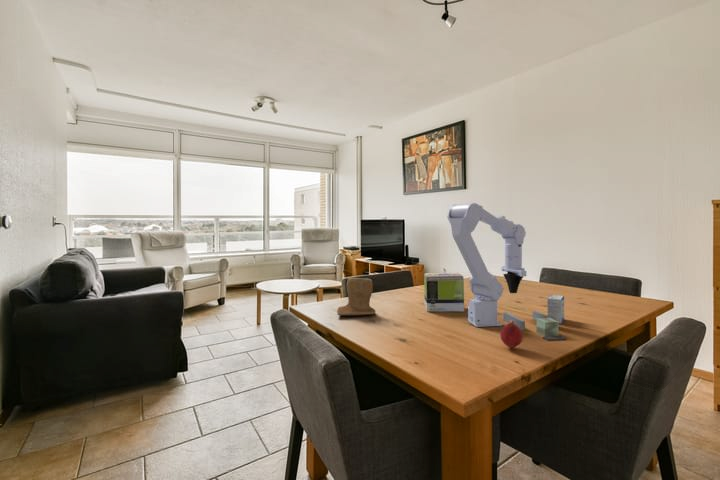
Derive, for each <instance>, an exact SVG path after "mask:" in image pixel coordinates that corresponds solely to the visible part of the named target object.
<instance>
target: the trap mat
mask: <svg viewBox="0 0 720 480" xmlns="http://www.w3.org/2000/svg"><path fill="white" fill-rule="evenodd" d="M542 339H544V340H545V341H547V342H548V341H549V342H551V341H567V338H566V337H565V336H562V335H559V336H543V337H542Z"/></svg>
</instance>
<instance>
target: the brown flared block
mask: <svg viewBox="0 0 720 480" xmlns="http://www.w3.org/2000/svg"><path fill="white" fill-rule="evenodd" d="M373 285H374V283H373V280H372V279H371V278H362V277H348V278H347V281H346V293H347V299H348V303H347V304H346V305H342V306H339V307H338V308H337V312H336V313H337V316H343V317H346V316H347V317H351V316H355V317H357V316H368V315H374V314H376V309H375V308H373V307H371V306H370V300H371V297H372V295H373Z"/></svg>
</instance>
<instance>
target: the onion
mask: <svg viewBox="0 0 720 480" xmlns="http://www.w3.org/2000/svg"><path fill="white" fill-rule="evenodd" d="M523 335H524V334H523V332H522V330H520V328H519V327H518V326H516V325H515V324H514V321H512V320H511V321H510V322H509V323H507V324H505V325H504V326H503V327H502V328H501V330H500V335H499V336H500V339H501V341H502V343H503V344H504V345H505V346H507V347H508V348H509V349H511V350H512V349H515V348H516V347H517V346H519V345H520V344H521V343H522V342H523V338H524V336H523Z"/></svg>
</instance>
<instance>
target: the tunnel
mask: <svg viewBox="0 0 720 480" xmlns="http://www.w3.org/2000/svg"><path fill="white" fill-rule="evenodd" d="M502 315H503V316H502V317H503V319H502V320H503V321H504V322H505V323H507V324H509V322H510V321H511V320H512V321H514V324H515V325H516V326H518V327H519V328H520V330H521V331H526V322H525V320H523V319H522V318H520V317H517V316H515V315H513V314H511V313H509V312H507V311H504V312H503V313H502ZM531 317H532V318H531V319H532V320H534V321H536V322H537V318H551V317H549V316H547V315H546V314H544V313H541V312H540V311H537V310H532V316H531ZM551 319H553V320H556V319H554V318H551ZM556 321H557V320H556Z"/></svg>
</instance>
